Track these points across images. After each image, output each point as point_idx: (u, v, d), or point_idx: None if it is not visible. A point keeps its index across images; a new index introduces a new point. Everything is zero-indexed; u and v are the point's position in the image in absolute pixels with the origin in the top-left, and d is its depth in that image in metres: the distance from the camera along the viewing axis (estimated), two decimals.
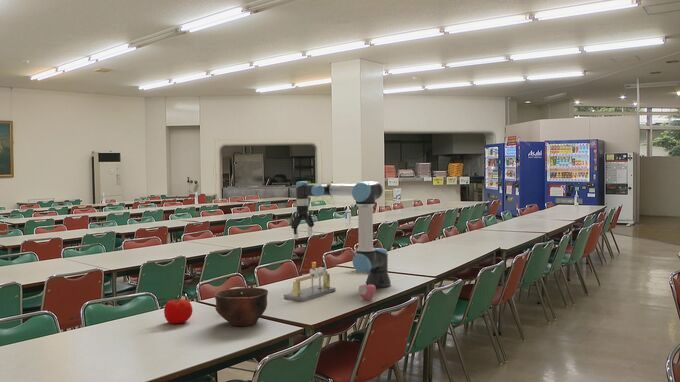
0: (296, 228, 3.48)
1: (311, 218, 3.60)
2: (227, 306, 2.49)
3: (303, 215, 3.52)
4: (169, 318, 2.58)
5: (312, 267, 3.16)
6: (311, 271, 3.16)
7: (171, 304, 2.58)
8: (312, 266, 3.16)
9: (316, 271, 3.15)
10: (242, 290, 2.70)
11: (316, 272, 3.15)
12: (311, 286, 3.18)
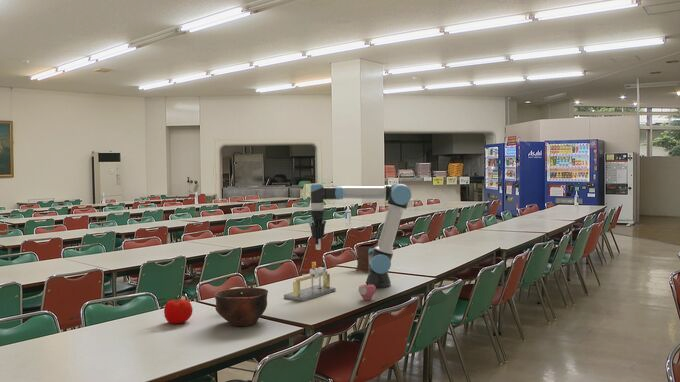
0: (318, 238, 3.21)
1: (323, 228, 3.26)
2: (227, 306, 2.49)
3: (318, 221, 3.20)
4: (169, 318, 2.58)
5: (312, 267, 3.16)
6: (311, 271, 3.16)
7: (171, 304, 2.58)
8: (312, 266, 3.16)
9: (316, 271, 3.15)
10: (242, 290, 2.70)
11: (316, 272, 3.15)
12: (311, 286, 3.18)
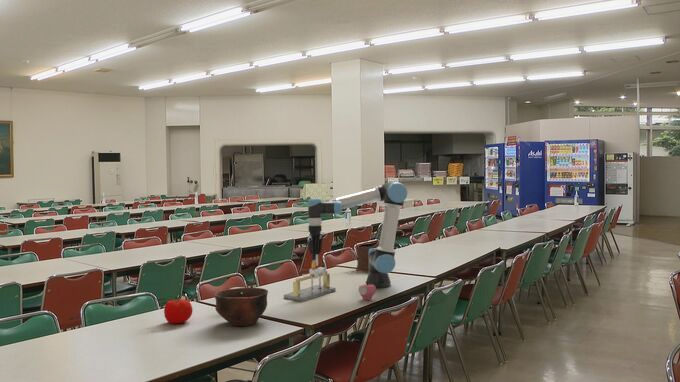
0: (315, 254, 3.16)
1: (321, 243, 3.20)
2: (227, 306, 2.49)
3: (316, 236, 3.15)
4: (169, 318, 2.58)
5: (312, 267, 3.15)
6: (310, 271, 3.16)
7: (171, 304, 2.58)
8: (312, 266, 3.15)
9: (316, 271, 3.15)
10: (242, 290, 2.70)
11: (316, 272, 3.15)
12: (311, 286, 3.18)
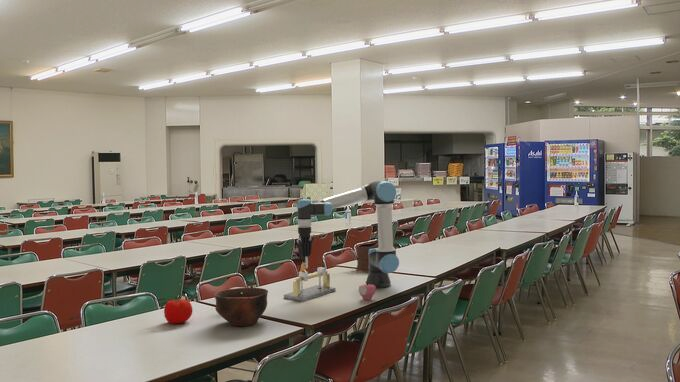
0: (305, 256, 3.08)
1: (311, 245, 3.13)
2: (227, 306, 2.49)
3: (305, 238, 3.08)
4: (169, 318, 2.58)
5: (301, 270, 3.08)
6: (300, 274, 3.08)
7: (171, 304, 2.58)
8: (301, 269, 3.08)
9: (305, 274, 3.08)
10: (242, 290, 2.70)
11: (305, 275, 3.08)
12: None
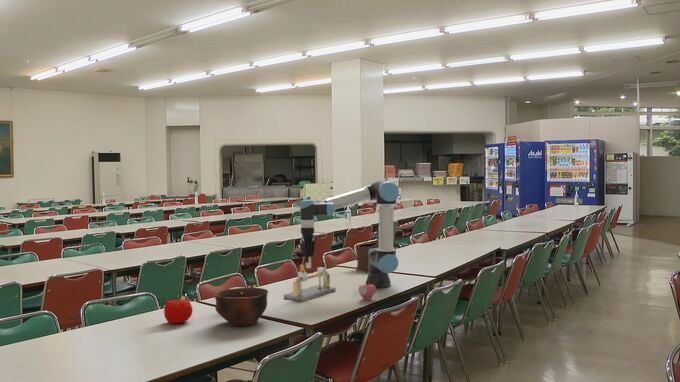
0: (308, 256, 3.10)
1: (314, 245, 3.15)
2: (227, 306, 2.49)
3: (308, 238, 3.09)
4: (169, 318, 2.58)
5: (300, 270, 3.07)
6: (299, 274, 3.08)
7: (171, 304, 2.58)
8: (300, 269, 3.07)
9: (304, 274, 3.07)
10: (242, 290, 2.70)
11: (304, 275, 3.07)
12: None
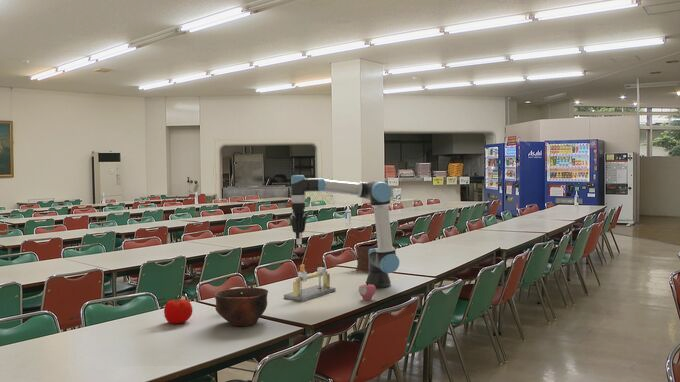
0: (299, 232, 3.06)
1: (305, 221, 3.10)
2: (227, 306, 2.49)
3: (299, 214, 3.05)
4: (169, 318, 2.58)
5: (300, 270, 3.07)
6: (299, 274, 3.08)
7: (171, 304, 2.58)
8: (300, 269, 3.07)
9: (304, 274, 3.07)
10: (242, 290, 2.70)
11: (304, 275, 3.07)
12: None
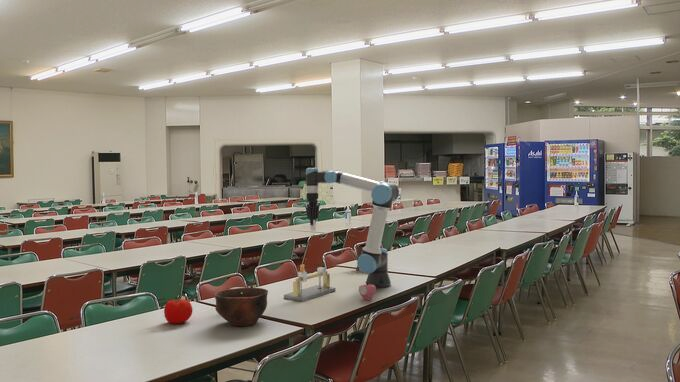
0: (313, 219, 3.39)
1: (318, 210, 3.44)
2: (227, 306, 2.49)
3: (313, 203, 3.38)
4: (169, 318, 2.58)
5: (300, 270, 3.07)
6: (299, 274, 3.08)
7: (171, 304, 2.58)
8: (300, 269, 3.07)
9: (304, 274, 3.07)
10: (242, 290, 2.70)
11: (304, 275, 3.07)
12: None
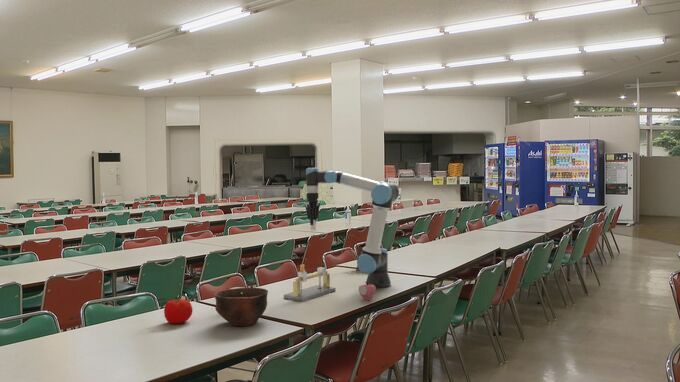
0: (313, 219, 3.40)
1: (318, 210, 3.44)
2: (227, 306, 2.49)
3: (313, 203, 3.39)
4: (169, 318, 2.58)
5: (300, 270, 3.07)
6: (299, 274, 3.08)
7: (171, 304, 2.58)
8: (300, 269, 3.07)
9: (304, 274, 3.07)
10: (242, 290, 2.70)
11: (304, 275, 3.07)
12: None
